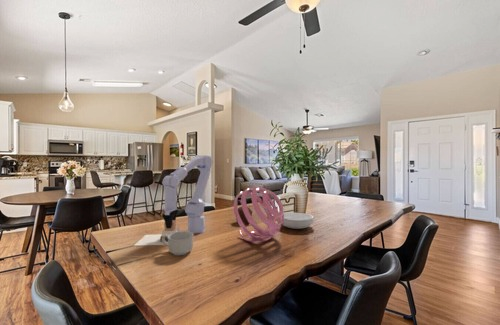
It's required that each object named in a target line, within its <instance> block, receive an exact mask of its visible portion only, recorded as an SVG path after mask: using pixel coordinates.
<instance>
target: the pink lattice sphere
mask: <svg viewBox="0 0 500 325" xmlns="http://www.w3.org/2000/svg"><path fill="white" fill-rule="evenodd" d="M250 190H252V191H250ZM258 193H259V194H261V195H262V196H261V197H262V198H261V197H260V196H259V195H258ZM240 195H241V198H240V203H241V207H242V209H243V212H244V214H245V217H246V218H247V220H248V222H249V224H250V226H251V227H252V228H253V229H254V230H255V231H252V230H249V229H248V228H247V226H246V224H244V223H243V222H242V220H241V218H240V215H239V212H238V208H239V207H238V199H239V197H240ZM247 195H248V196H249V197H251V199H250V200H251V203H252V206H253V209H254V211H255V213H256V215H257V216H258V218H259V219H260V220H261V221H262V222H263V223H264V224H265V225H266V226H267V228H266V229H265V230H264V229H263V228H262V227H261V226H260V225H259V224H257V222H256V221H255V220H254V218H253V217H252V216H251V215H250V213H249V210H248V208H249V207H248V205H247ZM270 196H271V197H272V198H273V199H274V201H275V202H276V204H277V206H276V204H275V202H274V201H273V199H272V198H271V197H270ZM259 204H260V205H261V207H262V208H263V210H264V211H265V213H266V215H265V214H264V212H263V211H262V209H261V207H260V205H259ZM247 207H248V208H247ZM278 207H279V210H280V211H279V210H278ZM233 213H234V215H235V220H236V219H237V220H236V222H237V221H238V223H239V224H238V223H237V224H238V225H239V227H240V228H241V230H242V231H243V232H244V233H245V234H246V235H247V237H249V238H246V237H245V236H244V234H243V233H242V231H241V230H240V229H239V230H238V233H239V235H240V237H241V238H242V239H243V240H244V241H247V242H248V243H249V242H250V243H256V242H257V243H258V242H259V243H265V242H267V241H269V240H271V239H272V238H273V237H275V236H276V235H278V233H279V232H280V230H281V228H282V226H283V221H284V213H285V210H284V205H283V203H282V201H281V200H280V198H279V196H278V195H277V194H276V193H274V192H273V191H271V190H269V189H267V188H265V187H263V186H262V187H261V186H257V187H253V186H252V187H248V188H246V189H244V190H243V191H240V192H239V193H238V194H237V195H236V196H235V198H234V200H233ZM281 217H282V221H281V219H280V218H281ZM276 221H277V223H276Z"/></svg>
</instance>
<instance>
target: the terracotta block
mask: <svg viewBox="0 0 500 325" xmlns="http://www.w3.org/2000/svg"><path fill="white" fill-rule="evenodd" d="M176 221H177V219H176V220H172V227H171V228H166V224H165V222H164V228H163V230H164V231H171V230H174V229H175V228H176V227H177V226H176Z"/></svg>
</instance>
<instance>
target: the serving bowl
mask: <svg viewBox="0 0 500 325" xmlns="http://www.w3.org/2000/svg"><path fill="white" fill-rule="evenodd" d="M280 219H281V221H282V217H281V218H280ZM313 222H314V216H313V214H308V213H305V212H304V213H302V212H284V221H283V224H282V226H284V227H286V228H290V229H292V230H293V229H294V230H301V229H306V228H309V227H310V226H311V225H312V224H313Z"/></svg>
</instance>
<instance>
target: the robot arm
mask: <svg viewBox="0 0 500 325" xmlns="http://www.w3.org/2000/svg"><path fill="white" fill-rule="evenodd" d="M213 163H214V162H213V159H212V156H211V155H209V154H206V155H205V154H202V155H201V154H200V155H199V154H196V155H194V156H193V157H192V158H191V160H190V161H188V163H187V164H185V165H184V166H179V167H177V168H176V170H174V171H173V172H171V173H170V174H169V175H165V176H164V178H163V179H162V181H161V184H162V185H163V190H164V207H162V211H164V213H162V215H161V217H162V218H163V221H164V223H165V224H166V228H171V227H172V220H176V221H177V216H178V212H179V209H178V206H177V201H178V200H177V197H178V194H177V190H178V186H179V185H180V182H181V181H182V180H183V179H185V178H186V177H187V176H188V173H189V172H190V171H191V170H192V169H194V168H196V169H197V170H198V171H199V172H200V173H199V176H198V179H197V183H196V186H195V189H194V193H193V196H192V198H190V199H189V200H188V202H187V204H186V205H185V207H184V212H185V214H186V215H187V230H186V231H188V232H191V233H193V234H204V233H205V231H206V223H205V222H206V218H205V215H203V214H204V212H205V202H204V201H203V199H204V196H205V191H206V188H207V186H208V180H209V178H210V173H211V168H212V166H213Z"/></svg>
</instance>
